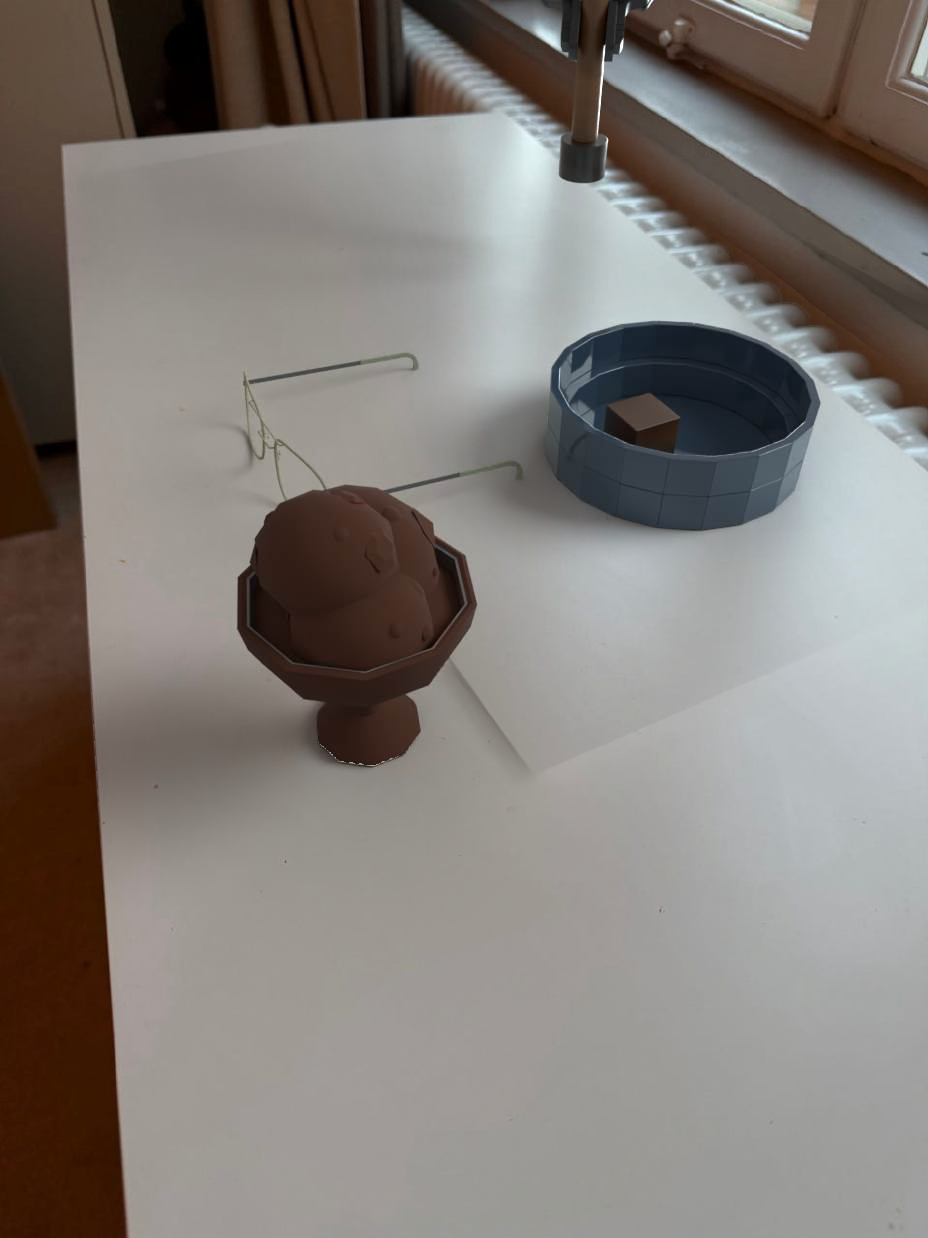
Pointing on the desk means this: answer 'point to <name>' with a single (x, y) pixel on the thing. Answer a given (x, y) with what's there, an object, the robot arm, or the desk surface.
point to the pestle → (587, 101)
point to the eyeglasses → (391, 490)
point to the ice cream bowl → (354, 612)
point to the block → (643, 423)
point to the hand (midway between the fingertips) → (590, 54)
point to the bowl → (681, 423)
